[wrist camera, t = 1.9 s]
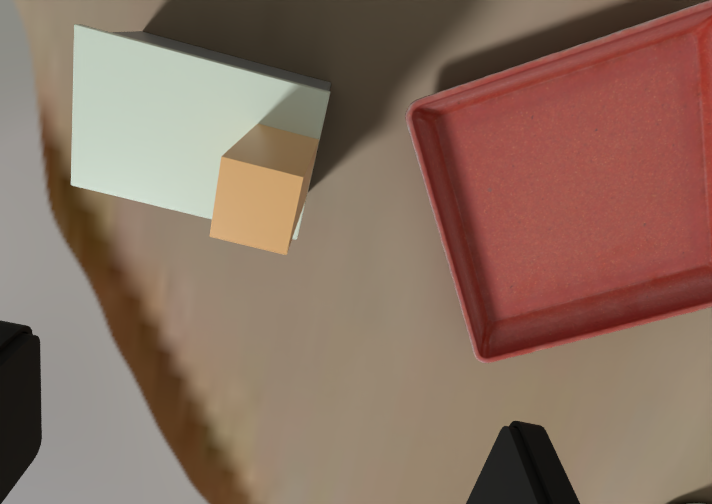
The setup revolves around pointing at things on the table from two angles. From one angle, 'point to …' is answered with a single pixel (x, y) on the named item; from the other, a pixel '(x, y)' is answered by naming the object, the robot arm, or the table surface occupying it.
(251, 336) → the table surface
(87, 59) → the white tan l-shaped piece
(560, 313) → the plant saucer
